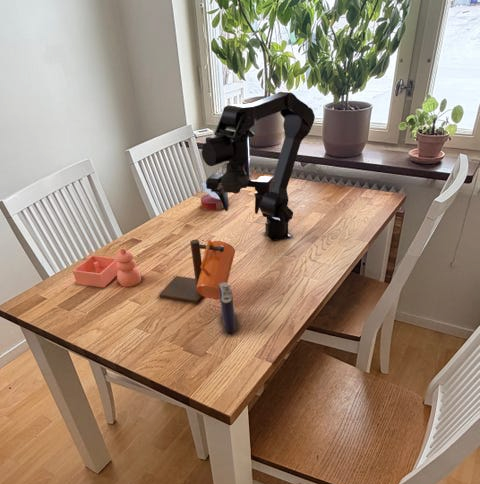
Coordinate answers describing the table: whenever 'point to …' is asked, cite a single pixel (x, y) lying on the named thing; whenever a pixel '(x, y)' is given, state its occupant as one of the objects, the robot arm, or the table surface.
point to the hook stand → (187, 286)
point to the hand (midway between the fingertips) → (241, 212)
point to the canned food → (210, 200)
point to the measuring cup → (215, 269)
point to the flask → (227, 308)
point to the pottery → (108, 270)
